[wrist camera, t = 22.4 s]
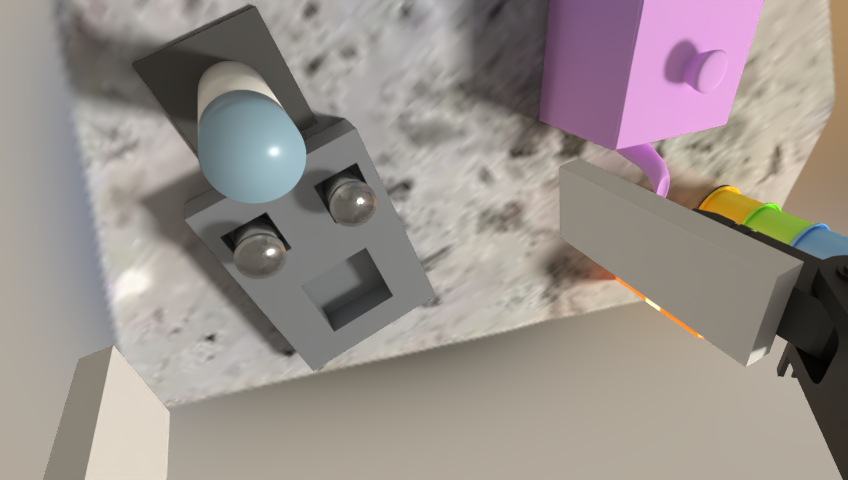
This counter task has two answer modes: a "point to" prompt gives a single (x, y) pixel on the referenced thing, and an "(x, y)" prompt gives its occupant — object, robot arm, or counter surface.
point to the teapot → (643, 71)
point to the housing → (322, 254)
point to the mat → (227, 41)
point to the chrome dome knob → (258, 249)
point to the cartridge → (246, 136)
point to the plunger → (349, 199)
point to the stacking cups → (776, 223)
